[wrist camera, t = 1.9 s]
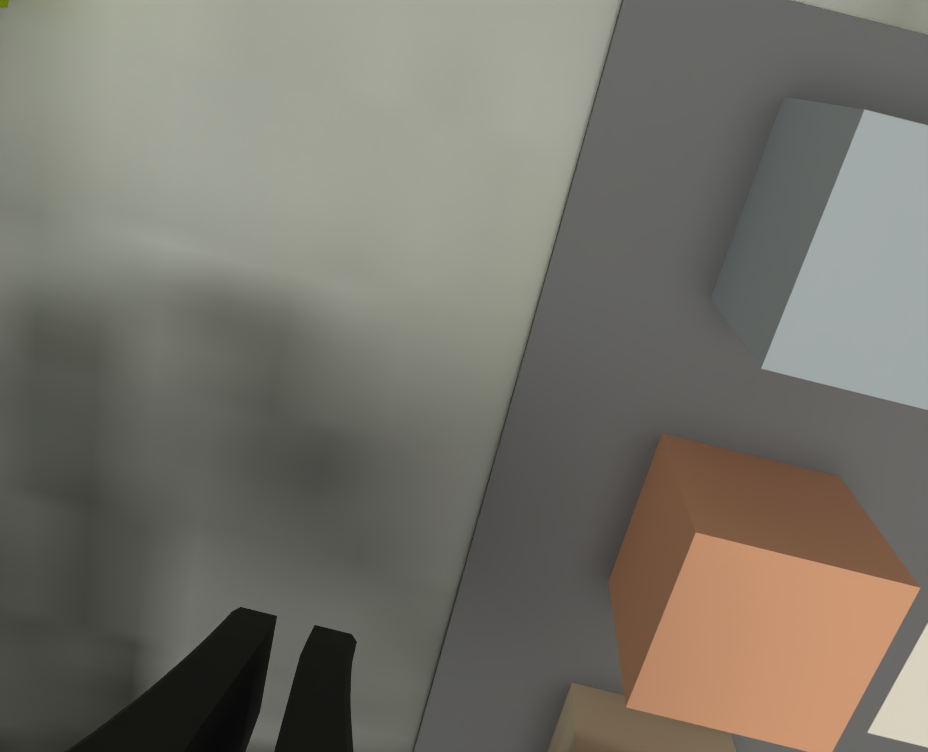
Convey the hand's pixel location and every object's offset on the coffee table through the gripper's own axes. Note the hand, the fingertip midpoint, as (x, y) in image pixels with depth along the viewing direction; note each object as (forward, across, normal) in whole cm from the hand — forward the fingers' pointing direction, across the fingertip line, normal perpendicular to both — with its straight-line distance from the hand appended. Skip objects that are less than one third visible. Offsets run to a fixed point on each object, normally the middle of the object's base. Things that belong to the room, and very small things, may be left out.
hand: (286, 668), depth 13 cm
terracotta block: (+8, -9, 0) cm, 12 cm away
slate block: (+8, -9, -8) cm, 15 cm away
